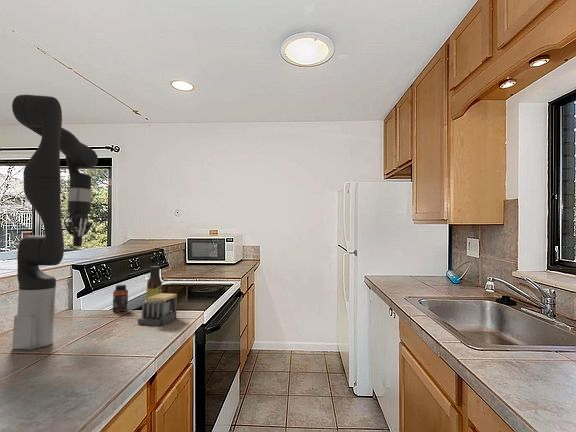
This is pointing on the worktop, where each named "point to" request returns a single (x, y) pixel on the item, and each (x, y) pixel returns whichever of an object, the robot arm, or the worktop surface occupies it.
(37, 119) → the robot arm
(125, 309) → the supplement bottle
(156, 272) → the sauce bottle
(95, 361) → the worktop surface
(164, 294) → the grey and yellow stand
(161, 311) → the heatsink block
